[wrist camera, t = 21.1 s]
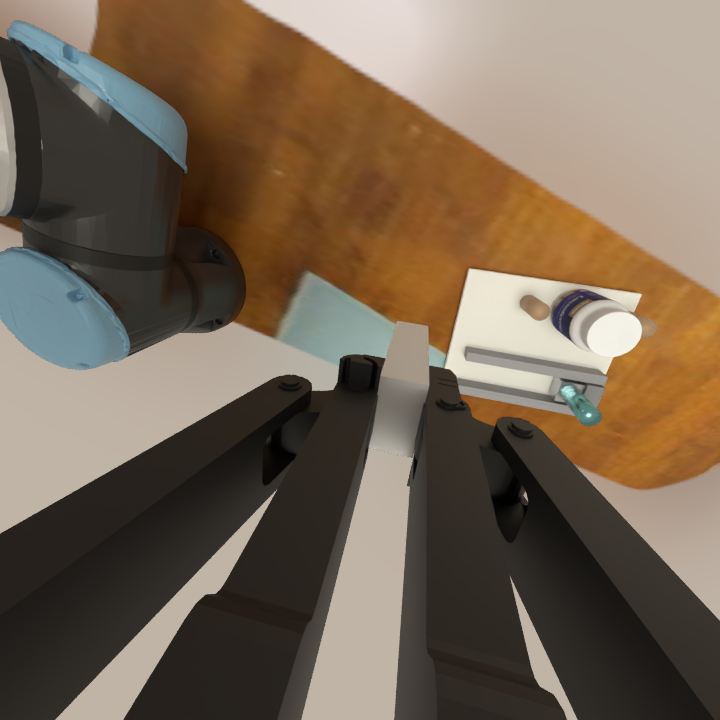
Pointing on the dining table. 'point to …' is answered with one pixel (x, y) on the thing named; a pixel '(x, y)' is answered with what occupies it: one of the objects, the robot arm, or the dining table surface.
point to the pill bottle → (595, 323)
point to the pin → (575, 400)
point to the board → (524, 341)
